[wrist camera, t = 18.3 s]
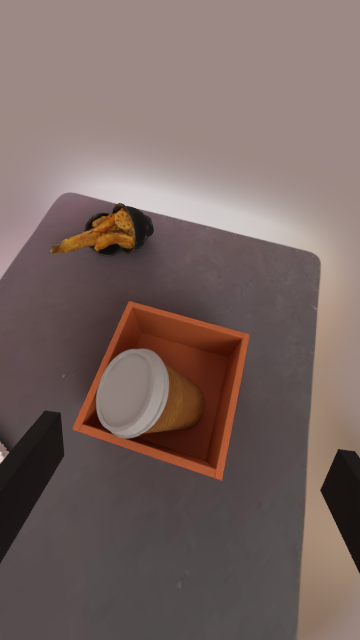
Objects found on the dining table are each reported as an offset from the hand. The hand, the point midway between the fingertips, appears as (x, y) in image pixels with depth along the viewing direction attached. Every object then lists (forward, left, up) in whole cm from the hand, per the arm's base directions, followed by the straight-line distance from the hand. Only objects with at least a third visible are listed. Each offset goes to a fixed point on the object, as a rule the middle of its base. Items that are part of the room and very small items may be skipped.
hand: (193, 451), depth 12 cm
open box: (+4, -6, -26) cm, 27 cm away
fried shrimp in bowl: (+24, -29, -26) cm, 45 cm away
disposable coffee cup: (0, -4, -23) cm, 23 cm away
